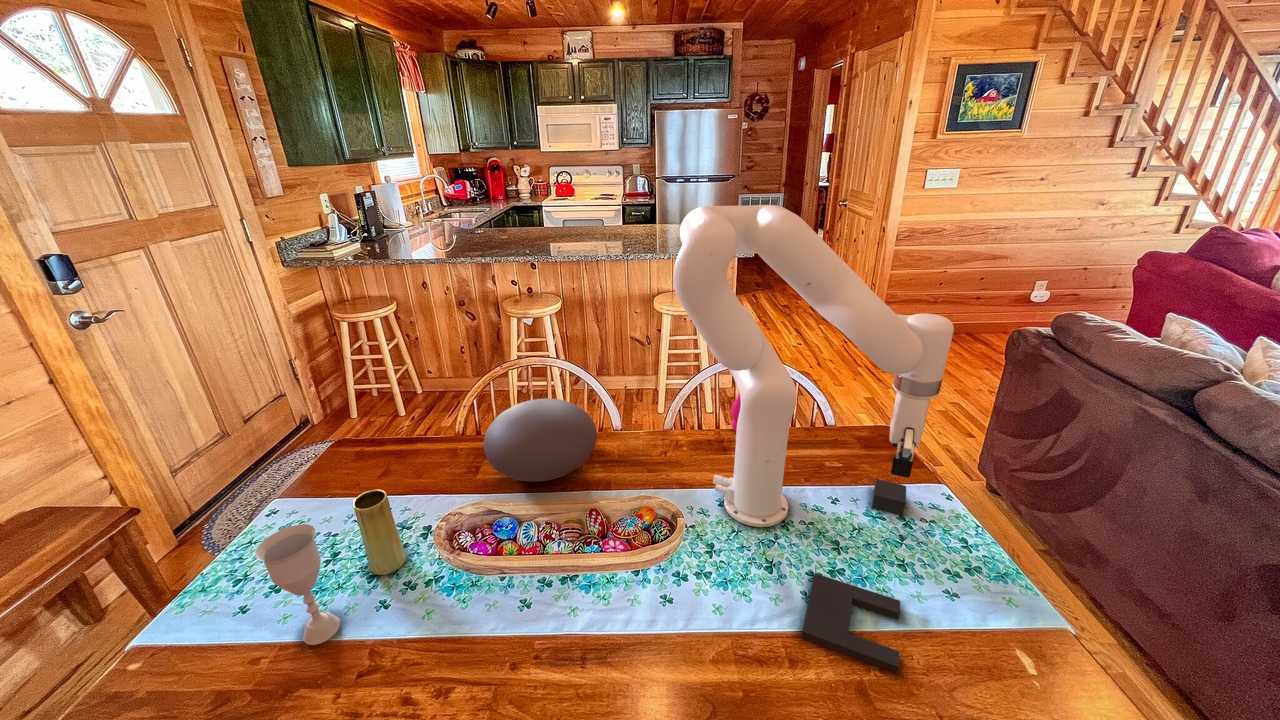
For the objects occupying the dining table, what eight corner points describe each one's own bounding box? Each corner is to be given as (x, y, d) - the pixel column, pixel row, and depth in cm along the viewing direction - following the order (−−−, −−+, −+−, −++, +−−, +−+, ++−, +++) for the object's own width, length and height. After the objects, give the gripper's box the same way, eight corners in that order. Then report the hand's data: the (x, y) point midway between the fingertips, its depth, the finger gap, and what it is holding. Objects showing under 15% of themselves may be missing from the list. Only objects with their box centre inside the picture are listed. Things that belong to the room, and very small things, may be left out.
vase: (414, 555, 93) (397, 493, 87) (386, 580, 88) (366, 515, 82) (390, 545, 95) (372, 484, 89) (362, 569, 90) (340, 505, 84)
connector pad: (871, 507, 102) (874, 494, 100) (873, 491, 106) (876, 478, 105) (902, 515, 99) (905, 502, 98) (903, 498, 104) (906, 485, 103)
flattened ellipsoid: (512, 433, 130) (504, 381, 123) (608, 438, 126) (605, 385, 120) (469, 496, 107) (457, 436, 101) (584, 505, 104) (579, 444, 98)
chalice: (309, 659, 75) (269, 569, 67) (285, 637, 78) (245, 549, 70) (357, 621, 80) (325, 534, 73) (333, 603, 84) (300, 518, 76)
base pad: (800, 638, 76) (802, 631, 76) (813, 579, 86) (814, 572, 85) (896, 674, 71) (898, 667, 70) (898, 607, 81) (900, 600, 80)
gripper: (895, 360, 100) (881, 434, 107) (892, 400, 86) (876, 482, 93) (938, 366, 97) (922, 441, 104) (942, 408, 83) (923, 492, 90)
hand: (900, 460), depth 98 cm, fingers open, 9 cm apart
